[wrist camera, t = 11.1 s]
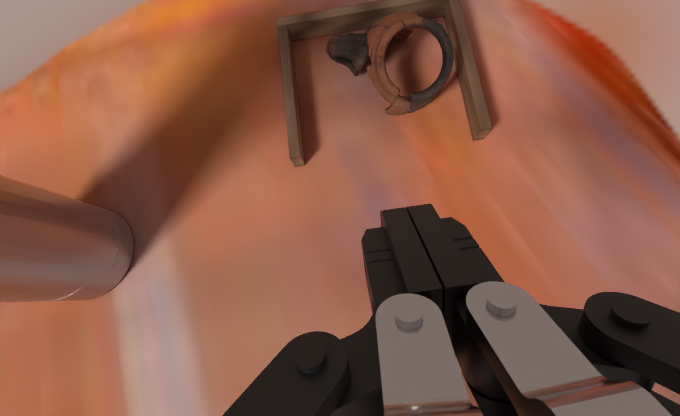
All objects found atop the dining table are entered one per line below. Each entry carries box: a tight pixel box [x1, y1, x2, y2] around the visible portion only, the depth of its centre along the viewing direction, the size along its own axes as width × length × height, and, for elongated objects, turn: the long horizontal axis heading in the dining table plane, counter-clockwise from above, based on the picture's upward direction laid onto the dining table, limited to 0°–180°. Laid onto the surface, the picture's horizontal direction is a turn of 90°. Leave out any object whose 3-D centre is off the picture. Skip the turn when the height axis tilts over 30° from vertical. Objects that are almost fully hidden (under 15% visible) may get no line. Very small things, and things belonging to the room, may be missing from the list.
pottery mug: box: [326, 12, 454, 115], centre depth 34 cm, size 12×10×8 cm
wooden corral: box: [277, 0, 492, 167], centre depth 36 cm, size 19×16×2 cm
